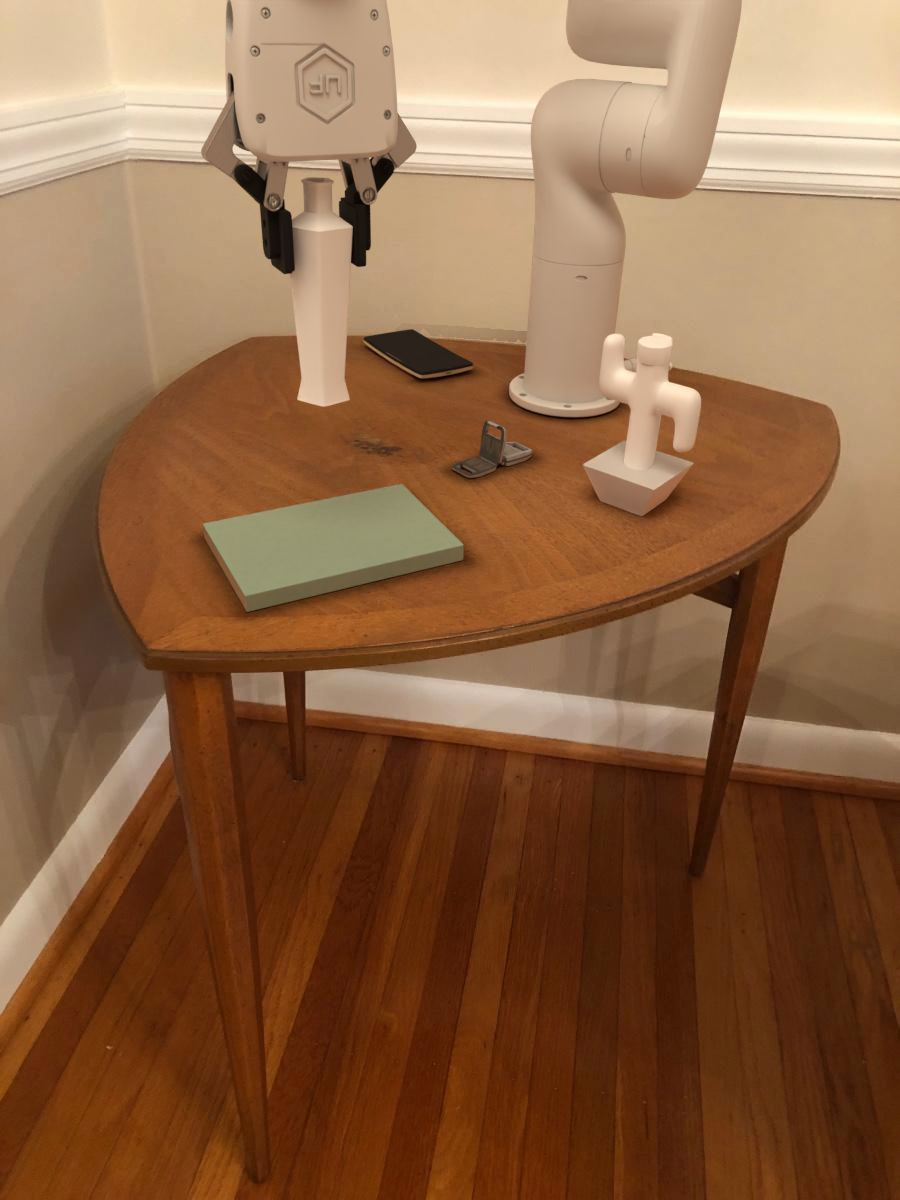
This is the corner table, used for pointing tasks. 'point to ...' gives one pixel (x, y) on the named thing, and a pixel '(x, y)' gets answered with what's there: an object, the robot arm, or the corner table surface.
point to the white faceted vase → (321, 294)
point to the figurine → (643, 426)
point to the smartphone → (417, 354)
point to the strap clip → (493, 454)
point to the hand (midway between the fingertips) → (318, 262)
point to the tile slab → (329, 545)
